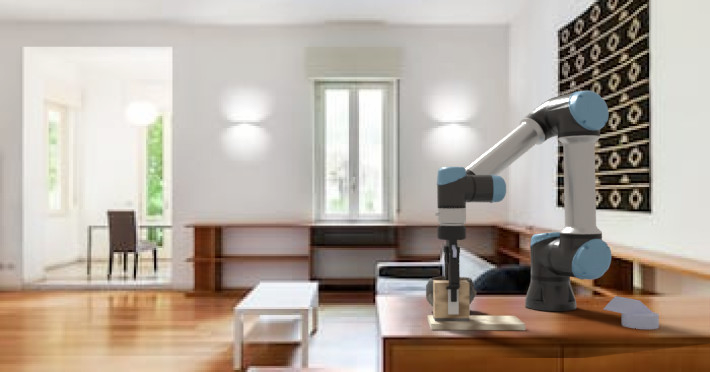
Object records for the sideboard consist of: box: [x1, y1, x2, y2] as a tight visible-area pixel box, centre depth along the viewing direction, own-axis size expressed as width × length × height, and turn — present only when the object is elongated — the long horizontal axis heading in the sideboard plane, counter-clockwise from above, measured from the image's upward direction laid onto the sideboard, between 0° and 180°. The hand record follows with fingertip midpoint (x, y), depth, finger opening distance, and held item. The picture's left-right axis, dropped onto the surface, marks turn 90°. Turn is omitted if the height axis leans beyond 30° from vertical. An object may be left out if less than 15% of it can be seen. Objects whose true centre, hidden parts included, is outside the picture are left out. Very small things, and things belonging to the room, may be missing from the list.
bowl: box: [425, 275, 478, 307], centre depth 188 cm, size 14×15×10 cm
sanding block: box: [432, 280, 471, 321], centre depth 167 cm, size 9×5×10 cm, turn 88°
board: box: [426, 314, 527, 331], centre depth 167 cm, size 24×12×2 cm, turn 88°
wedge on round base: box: [603, 295, 660, 330], centre depth 168 cm, size 9×7×13 cm
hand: (451, 311), depth 167 cm, fingers open, 6 cm apart
